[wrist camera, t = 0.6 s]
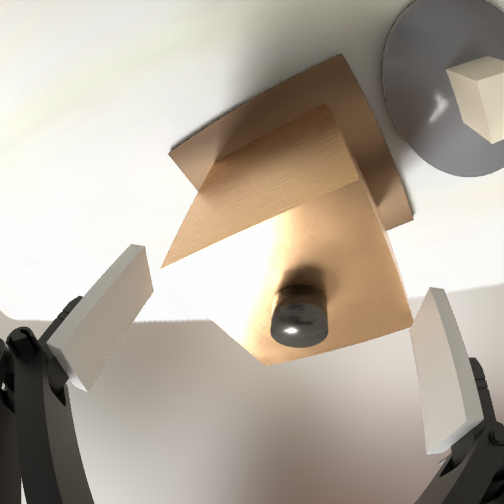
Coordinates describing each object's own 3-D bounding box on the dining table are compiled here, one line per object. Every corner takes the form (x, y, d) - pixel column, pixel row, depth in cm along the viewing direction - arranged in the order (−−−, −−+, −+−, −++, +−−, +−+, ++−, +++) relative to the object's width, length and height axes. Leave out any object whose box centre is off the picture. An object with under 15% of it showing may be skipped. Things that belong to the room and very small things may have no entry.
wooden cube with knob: (213, 163, 21) (147, 297, 12) (326, 103, 17) (369, 205, 8) (277, 248, 26) (262, 389, 16) (377, 207, 22) (420, 351, 12)
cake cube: (445, 69, 14) (476, 81, 11) (487, 55, 12) (522, 67, 9) (463, 122, 16) (491, 144, 13) (502, 107, 14) (534, 126, 11)
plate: (372, -23, 11) (376, -26, 10) (533, 23, 9) (541, 25, 8) (379, 167, 20) (382, 173, 19) (519, 176, 18) (524, 182, 17)
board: (169, 151, 21) (168, 154, 21) (341, 53, 15) (342, 54, 15) (267, 273, 28) (267, 276, 28) (412, 217, 22) (413, 219, 22)
